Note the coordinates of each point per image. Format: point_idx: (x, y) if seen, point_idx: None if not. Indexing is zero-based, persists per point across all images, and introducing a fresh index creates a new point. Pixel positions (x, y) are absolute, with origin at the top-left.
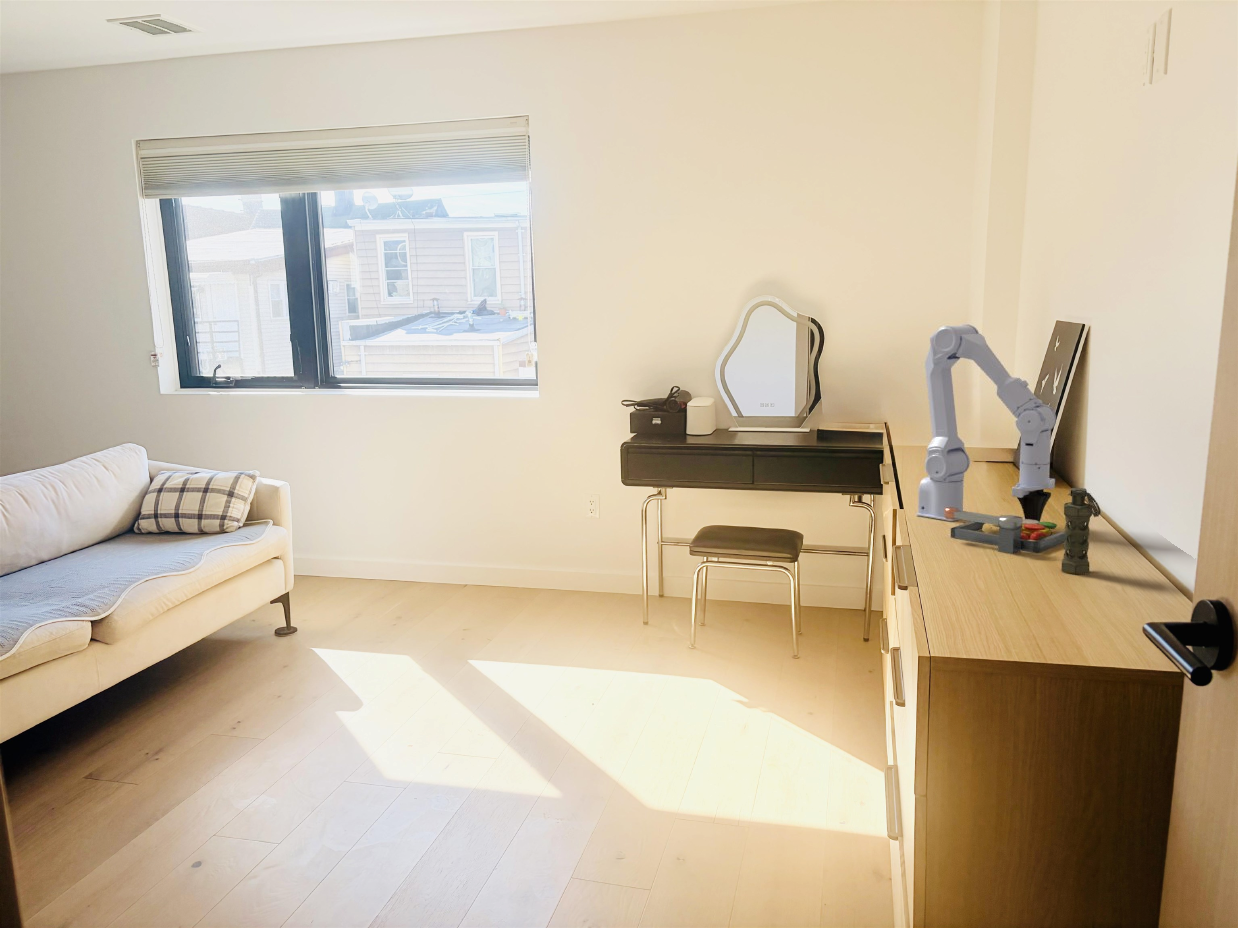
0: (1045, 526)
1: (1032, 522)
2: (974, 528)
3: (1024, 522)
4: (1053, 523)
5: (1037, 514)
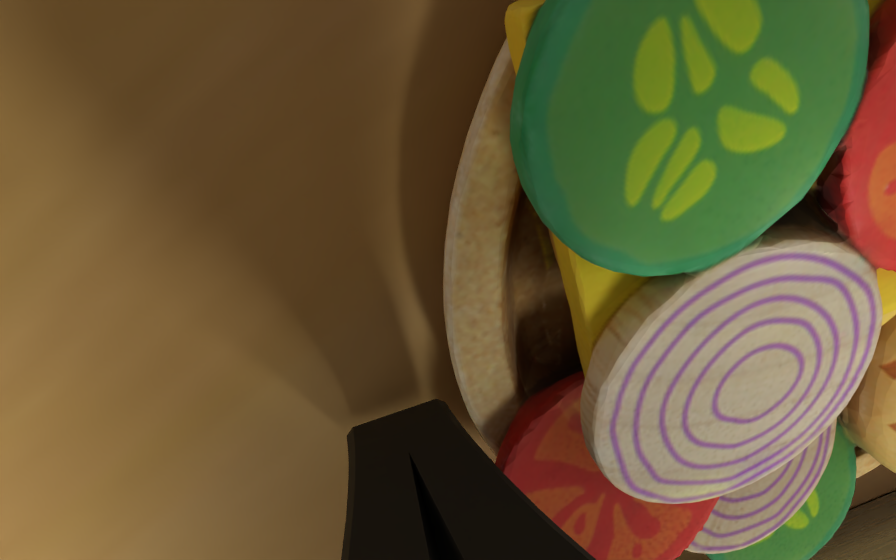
0: (858, 9)
1: (786, 303)
2: (843, 545)
3: (855, 349)
4: (585, 62)
5: (546, 521)
